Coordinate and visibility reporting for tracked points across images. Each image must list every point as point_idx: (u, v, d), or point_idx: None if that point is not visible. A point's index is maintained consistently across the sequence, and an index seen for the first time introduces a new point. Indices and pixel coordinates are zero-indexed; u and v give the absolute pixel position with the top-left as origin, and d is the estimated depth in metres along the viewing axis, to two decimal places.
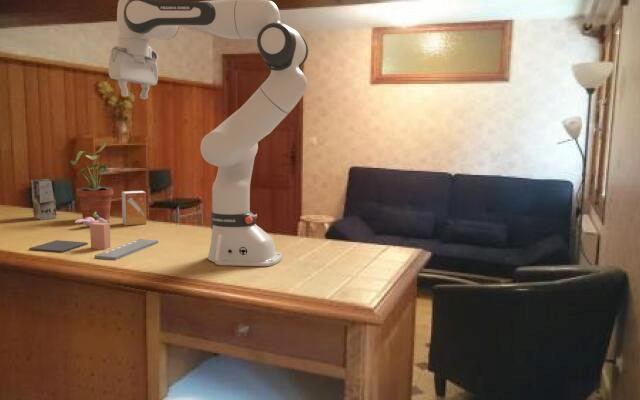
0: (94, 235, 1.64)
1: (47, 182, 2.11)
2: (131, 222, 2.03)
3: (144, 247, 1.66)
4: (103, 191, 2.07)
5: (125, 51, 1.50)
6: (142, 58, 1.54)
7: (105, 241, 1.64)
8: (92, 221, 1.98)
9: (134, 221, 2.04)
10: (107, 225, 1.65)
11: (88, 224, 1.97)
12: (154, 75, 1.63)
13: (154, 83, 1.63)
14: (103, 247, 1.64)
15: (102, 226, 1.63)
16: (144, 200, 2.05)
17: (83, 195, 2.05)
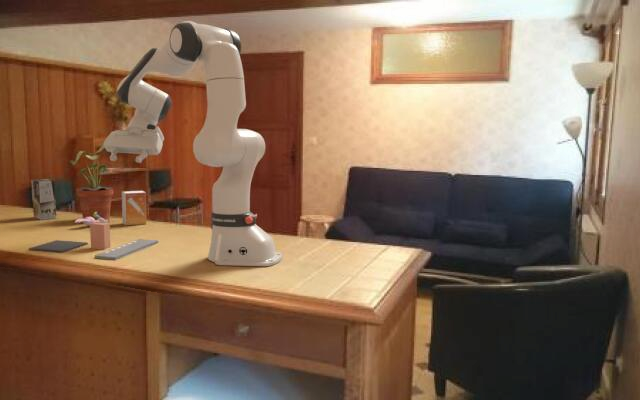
0: (94, 235, 1.64)
1: (47, 182, 2.11)
2: (131, 222, 2.03)
3: (144, 247, 1.66)
4: (103, 191, 2.07)
5: (126, 131, 1.84)
6: (133, 130, 1.81)
7: (105, 241, 1.64)
8: (92, 221, 1.98)
9: (134, 221, 2.04)
10: (107, 225, 1.65)
11: (88, 224, 1.97)
12: (152, 142, 1.78)
13: (150, 147, 1.77)
14: (103, 247, 1.64)
15: (102, 226, 1.63)
16: (144, 200, 2.05)
17: (83, 195, 2.05)
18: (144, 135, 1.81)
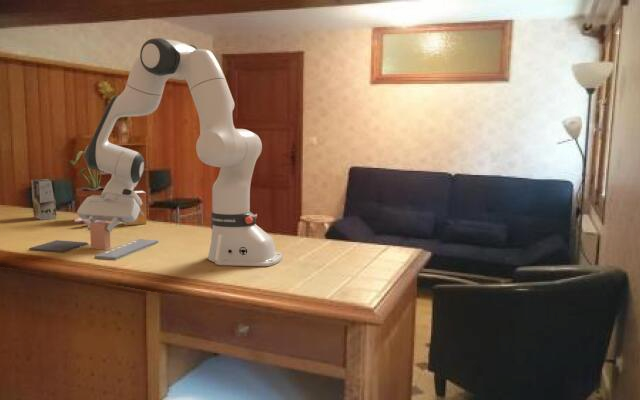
0: (94, 235, 1.64)
1: (47, 182, 2.11)
2: None
3: (144, 247, 1.66)
4: None
5: None
6: (108, 195, 1.69)
7: (105, 240, 1.64)
8: None
9: (134, 221, 2.04)
10: None
11: (88, 223, 1.99)
12: (128, 209, 1.66)
13: (125, 215, 1.64)
14: (103, 247, 1.64)
15: (102, 226, 1.63)
16: (144, 200, 2.05)
17: (83, 195, 2.05)
18: (119, 201, 1.68)
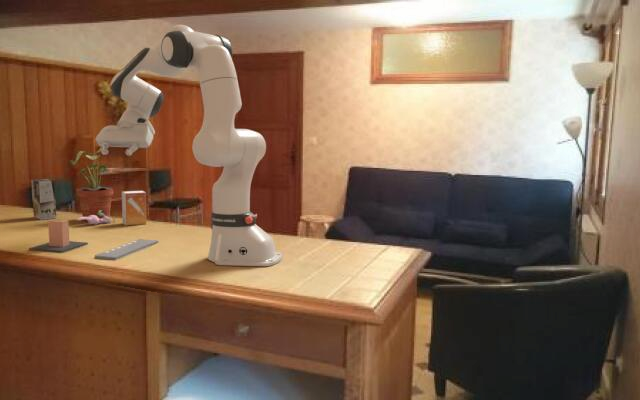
0: (52, 232, 1.64)
1: (47, 182, 2.11)
2: (131, 222, 2.03)
3: (144, 247, 1.66)
4: (103, 191, 2.07)
5: None
6: (124, 124, 1.84)
7: (64, 238, 1.64)
8: (94, 219, 2.02)
9: (134, 221, 2.04)
10: (65, 222, 1.64)
11: (90, 222, 2.01)
12: (142, 135, 1.81)
13: (140, 140, 1.79)
14: (61, 244, 1.64)
15: (60, 223, 1.63)
16: (144, 200, 2.05)
17: (83, 195, 2.05)
18: (134, 129, 1.83)
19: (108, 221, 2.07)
